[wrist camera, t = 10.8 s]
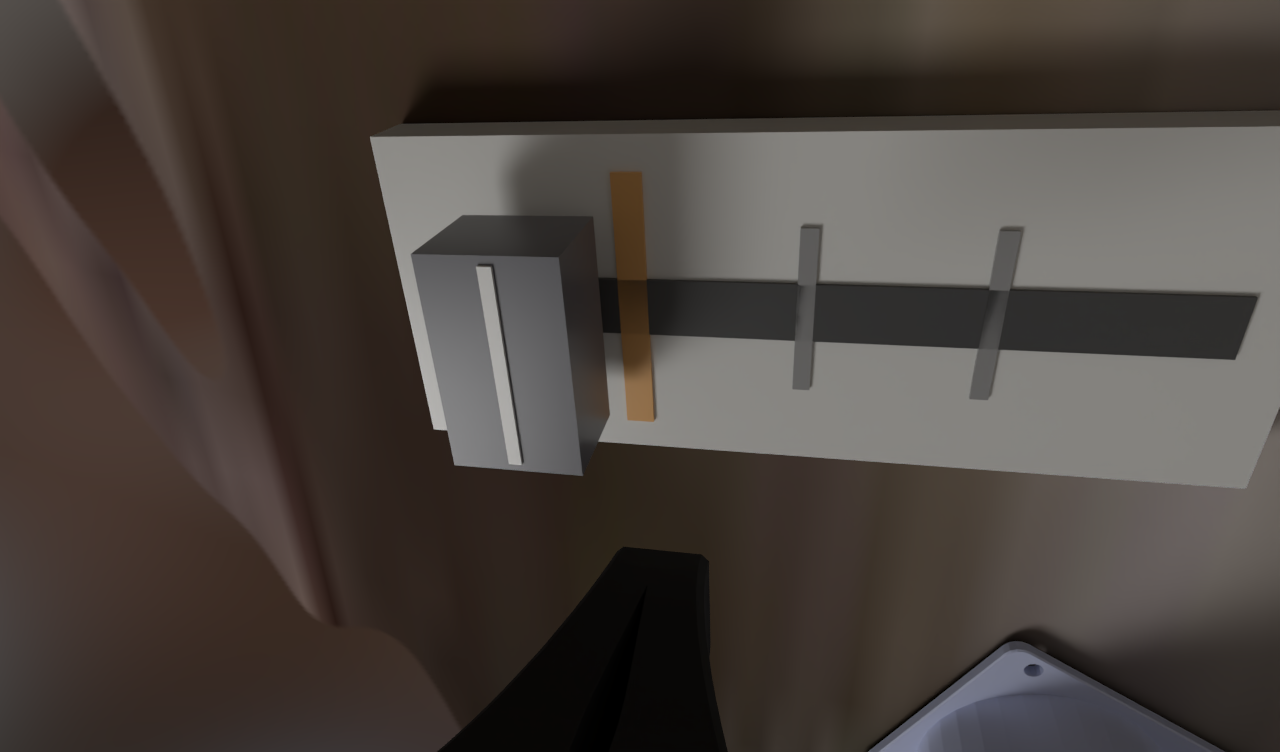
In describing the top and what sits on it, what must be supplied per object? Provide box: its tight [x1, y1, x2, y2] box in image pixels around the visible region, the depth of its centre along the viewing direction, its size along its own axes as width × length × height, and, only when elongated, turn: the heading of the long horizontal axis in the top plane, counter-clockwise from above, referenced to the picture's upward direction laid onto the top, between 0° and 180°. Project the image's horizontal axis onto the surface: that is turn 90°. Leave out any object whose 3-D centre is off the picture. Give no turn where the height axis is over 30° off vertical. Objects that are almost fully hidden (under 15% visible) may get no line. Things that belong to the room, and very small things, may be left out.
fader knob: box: [411, 215, 610, 476], centre depth 17 cm, size 3×5×4 cm, turn 3°
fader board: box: [370, 110, 1280, 489], centre depth 18 cm, size 20×8×2 cm, turn 93°
